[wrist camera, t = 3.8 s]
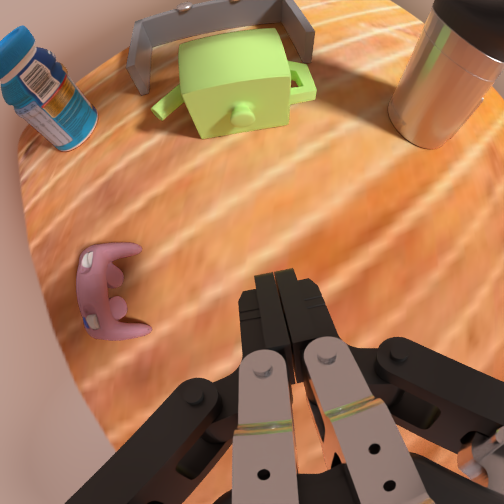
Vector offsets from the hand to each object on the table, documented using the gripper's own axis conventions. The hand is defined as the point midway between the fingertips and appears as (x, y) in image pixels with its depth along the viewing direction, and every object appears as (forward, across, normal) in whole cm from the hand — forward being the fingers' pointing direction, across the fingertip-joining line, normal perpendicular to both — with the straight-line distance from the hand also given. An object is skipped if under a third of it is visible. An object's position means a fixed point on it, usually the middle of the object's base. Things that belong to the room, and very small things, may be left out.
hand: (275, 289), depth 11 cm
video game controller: (+15, +15, +9) cm, 23 cm away
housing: (+38, 0, -15) cm, 41 cm away
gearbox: (+28, 0, -4) cm, 28 cm away
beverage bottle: (+32, +23, -8) cm, 40 cm away
